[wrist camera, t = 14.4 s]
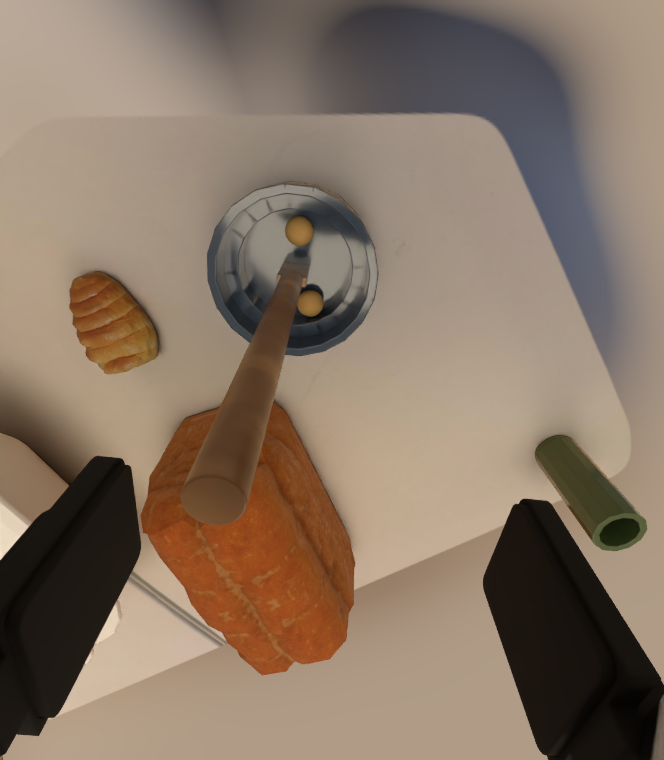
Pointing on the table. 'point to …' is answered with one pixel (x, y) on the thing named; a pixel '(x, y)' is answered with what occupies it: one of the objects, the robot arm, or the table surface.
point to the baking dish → (31, 503)
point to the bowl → (271, 248)
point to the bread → (258, 551)
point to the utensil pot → (590, 495)
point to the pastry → (111, 324)
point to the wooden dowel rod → (244, 413)
